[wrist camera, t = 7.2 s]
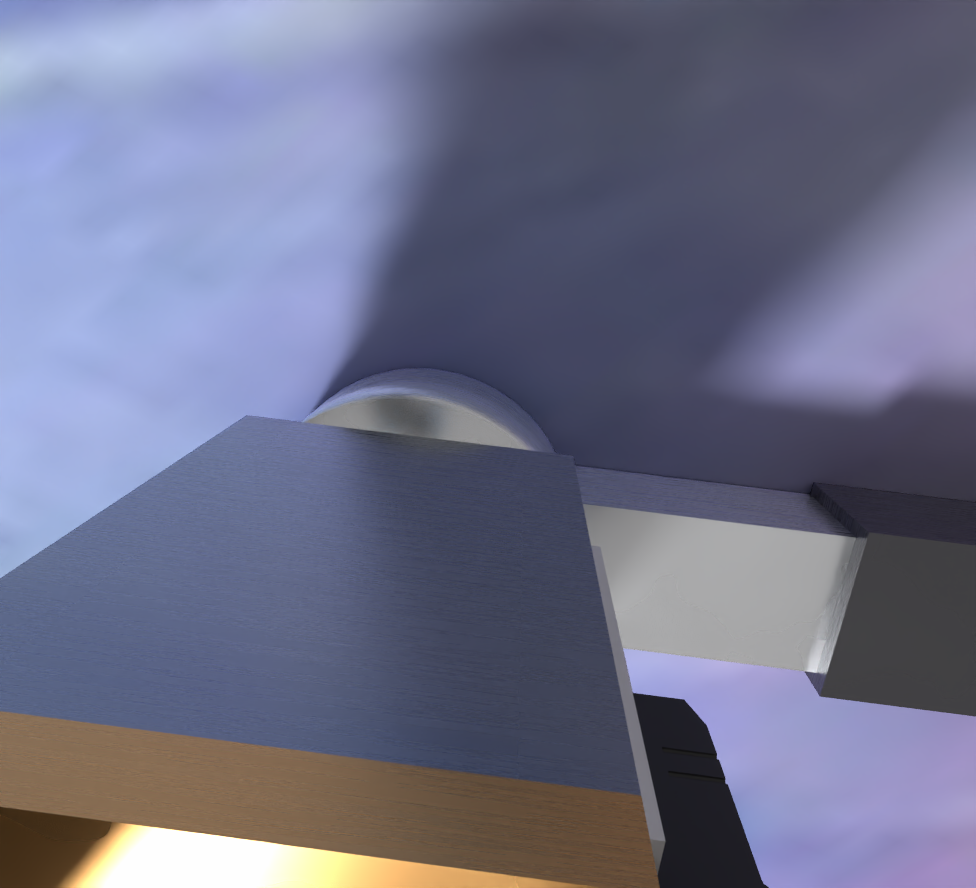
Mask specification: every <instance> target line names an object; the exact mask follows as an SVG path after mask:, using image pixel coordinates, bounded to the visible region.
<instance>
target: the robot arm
mask: <svg viewBox="0 0 976 888" xmlns="http://www.w3.org/2000/svg"><path fill="white" fill-rule="evenodd" d="M591 548H592V552H593V557H594V562H595V567H596V572H597V577H598V582H599V587H600V592H601V597H602V602H603V607H604V612H605V617H606V622H607V627H608V632H609V637H610V642H611V647H612V652H613V657H614V662H615V667H616V672H617V677H618V682H619V687H620V692H621V697H622V702H623V707H624V712H625V717H626V722H627V727H628V732H629V737H630V742H631V747H632V752H633V757H634V762H635V767H636V772H637V777H638V782H639V787H640V792H641V797H642V802H643V807H644V812H645V816H646V821H647V826H648V831H649V836H650V841H651V846H652V851H653V856H654V861H655V866H656V871H657V876H658V881H659V886H660V888H769V887H767V886H766V885H764V884H763V882H762V880H761V877H760V874H759V871H758V869H757V866H756V863H755V860H754V857H753V854H752V852H751V849H750V846H749V843H748V840H747V838H746V835H745V832H744V829H743V826H742V823H741V821H740V818H739V815H738V812H737V809H736V807H735V804H734V801H733V798H732V795H731V793H730V790H729V787H728V784H725V776H724V773H723V770H722V767H721V764H720V762H719V760H717V753H716V750H715V747H714V745H713V742H712V739H711V736H710V733H709V731H708V728H707V725H706V724H705V723H704V722H703V721H702V720H701V719H700V717H699V716H698V715H697V714H696V713H695V712H694V711H693V709H692V708H691V707H690V706H689V705H688V704H687V703H686V701H685V700H683V699H675V698H667V697H659V696H652V695H644V694H636V693H633V692H632V688H631V683H630V678H629V674H628V669H627V665H626V660H625V656H624V651H623V647H622V642H621V638H620V633H619V629H618V624H617V620H616V615H615V611H614V606H613V602H612V597H611V593H610V588H609V584H608V579H607V575H606V570H605V565H604V561H603V556H602V552H601V547H600V546H592V545H591Z"/></svg>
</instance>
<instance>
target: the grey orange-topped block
mask: <svg viewBox="0 0 976 888" xmlns="http://www.w3.org/2000/svg"><path fill="white" fill-rule="evenodd" d="M0 888H660V886H659V881H658V876H657V871H656V866H655V861H654V856H653V851H652V846H651V841H650V836H649V831H648V826H647V821H646V816H645V812H644V807H643V802H642V797H641V792H640V787H639V782H638V777H637V772H636V767H635V762H634V757H633V752H632V747H631V742H630V737H629V732H628V727H627V722H626V717H625V712H624V707H623V702H622V697H621V692H620V687H619V682H618V677H617V672H616V667H615V662H614V657H613V652H612V647H611V642H610V637H609V632H608V627H607V622H606V617H605V612H604V607H603V602H602V597H601V592H600V587H599V582H598V577H597V572H596V567H595V562H594V557H593V552H592V548H591V543H590V538H589V533H588V528H587V523H586V518H585V513H584V508H583V503H582V498H581V493H580V488H579V483H578V478H577V473H576V468H575V463H574V458H573V455H565V454H557V453H549V452H541V451H533V450H524V449H516V448H508V447H500V446H492V445H484V444H476V443H468V442H459V441H451V440H443V439H435V438H427V437H419V436H411V435H402V434H394V433H386V432H378V431H370V430H362V429H354V428H346V427H337V426H329V425H321V424H313V423H305V422H297V421H289V420H280V419H272V418H264V417H256V416H248V415H246V416H245V417H243V418H242V419H240V420H239V421H237V422H236V423H234V424H233V425H231V426H230V427H228V428H227V429H225V430H224V431H222V432H221V433H219V434H218V435H216V436H215V437H213V438H212V439H210V440H209V441H207V442H206V443H204V444H203V445H201V446H199V447H198V448H196V449H195V450H193V451H192V452H190V453H189V454H187V455H186V456H184V457H183V458H181V459H180V460H178V461H177V462H175V463H174V464H172V465H171V466H169V467H168V468H166V469H165V470H163V471H162V472H160V473H159V474H157V475H156V476H154V477H153V478H151V479H150V480H148V481H147V482H145V483H144V484H142V485H141V486H139V487H138V488H136V489H135V490H133V491H132V492H130V493H128V494H127V495H125V496H124V497H122V498H121V499H119V500H118V501H116V502H115V503H113V504H112V505H110V506H109V507H107V508H106V509H104V510H103V511H101V512H100V513H98V514H97V515H95V516H94V517H92V518H91V519H89V520H88V521H86V522H85V523H83V524H82V525H80V526H79V527H77V528H76V529H74V530H73V531H71V532H70V533H68V534H67V535H65V536H64V537H62V538H61V539H59V540H58V541H56V542H54V543H53V544H51V545H50V546H48V547H47V548H45V549H44V550H42V551H41V552H39V553H38V554H36V555H35V556H33V557H32V558H30V559H29V560H27V561H26V562H24V563H23V564H21V565H20V566H18V567H17V568H15V569H14V570H12V571H11V572H9V573H8V574H6V575H5V576H3V577H2V578H0Z"/></svg>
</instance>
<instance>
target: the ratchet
mask: <svg viewBox="0 0 976 888" xmlns="http://www.w3.org/2000/svg"><path fill="white" fill-rule="evenodd" d="M302 422H305V423H313V424H321V425H329V426H337V427H346V428H354V429H362V430H370V431H378V432H386V433H394V434H402V435H411V436H419V437H427V438H435V439H443V440H451V441H459V442H468V443H476V444H484V445H492V446H500V447H508V448H516V449H524V450H533V451H541V452H549V453H555V451H554V449H553V447H552V445H551V443H550V441H549V440H548V438H547V437H546V436H545V434H544V433H543V431H542V430H541V428H540V427H539V425H538V424H537V423H536V422H535V421H534V420H533V419H532V418H531V417H530V416H529V414H528V413H527V412H526V411H525V410H524V409H522V408H521V407H520V406H519V405H518V404H516V403H515V402H514V401H513V400H512V399H511V398H509V397H508V396H506V395H504V394H503V393H501V392H500V391H498V390H497V389H495V388H493V387H491V386H489V385H487V384H485V383H483V382H481V381H479V380H477V379H474V378H471V377H468V376H465V375H462V374H459V373H455V372H450V371H444V370H439V369H427V368H409V369H396V370H392V371H387V372H382V373H377V374H375V375H372V376H369V377H366V378H363V379H361V380H358V381H356V382H355V383H353V384H351V385H349V386H347V387H345V388H343V389H341V390H340V391H339V392H337V393H336V394H334V395H333V396H332V397H330V398H329V399H327V400H326V401H325V402H324V403H323V404H322V405H320V406H319V407H318V408H317V409H316V410H315V411H313V412H312V413H311V414H310V415H309V416H308V417H306V418H305V419H304V420H303V421H302ZM575 468H576V473H577V478H578V483H579V488H580V493H581V498H582V503H583V508H584V513H585V518H586V523H587V528H588V533H589V538H590V543H591V545H592V546H600V547H601V552H602V556H603V561H604V565H605V570H606V575H607V579H608V584H609V588H610V593H611V597H612V602H613V606H614V611H615V615H616V620H617V624H618V629H619V633H620V638H621V642H622V647H623V648H626V649H634V650H642V651H650V652H657V653H665V654H673V655H681V656H689V657H697V658H704V659H712V660H720V661H728V662H736V663H744V664H751V665H759V666H767V667H775V668H783V669H791V670H798V671H805V673H806V675H807V676H808V678H809V679H810V681H811V683H812V684H813V686H814V687H815V689H816V691H817V692H818V694H819V696H821V697H829V698H837V699H845V700H852V701H860V702H868V703H876V704H883V705H891V706H899V707H907V708H915V709H922V710H930V711H938V712H946V713H954V714H961V715H969V716H976V502H969V501H961V500H953V499H944V498H936V497H928V496H920V495H912V494H903V493H895V492H887V491H879V490H871V489H863V488H854V487H846V486H838V485H830V484H822V483H814V482H813V486H812V490H811V494H803V493H795V492H786V491H778V490H770V489H762V488H754V487H746V486H738V485H729V484H721V483H713V482H705V481H697V480H689V479H681V478H672V477H664V476H656V475H648V474H640V473H632V472H623V471H615V470H607V469H599V468H591V467H583V466H575Z"/></svg>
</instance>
